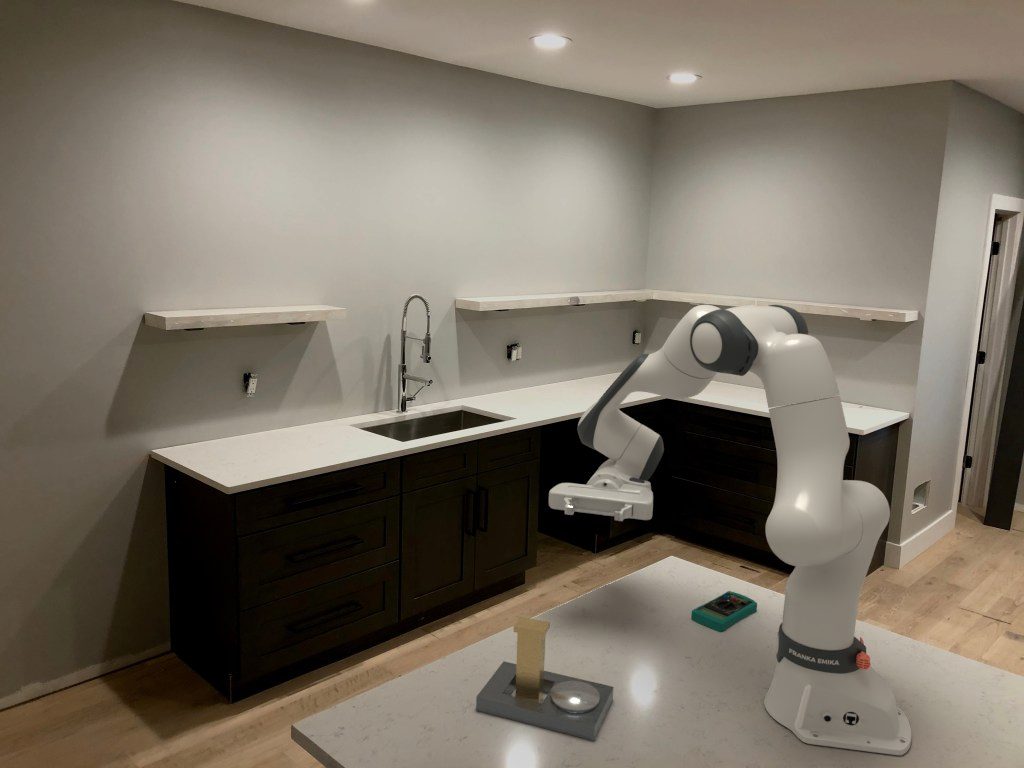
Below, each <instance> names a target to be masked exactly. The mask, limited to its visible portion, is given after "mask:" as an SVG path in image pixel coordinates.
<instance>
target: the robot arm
mask: <svg viewBox="0 0 1024 768" xmlns="http://www.w3.org/2000/svg"><path fill="white" fill-rule="evenodd" d="M808 328H809V327H808V324H807V322H806V319H805V317H804V316H803V315H802V314H801V313H800V312H799V311H798V310H796V309H795V308H792V307H789V306H786V305H783V304H770V305H769V304H768V305H750V304H747V305H740V306H733V307H730V308H726V309H723V308H720V307H717V306H715V305H711V304H698V305H697V306H694V307H692V308H691V309H690V310H689V311H688V312H687V313H686V314H684V316H683V317H682V318H681V320H680V321H678V323H677V324H676V326H675V327H674V328H673V329H672V331H671V332H670V334H669V336H668V337H667V338H666V340H665V342H664V344H663V345H662V347H661V348H660V349H659V350H656V351H655V352H652V353H642V354H639V355H638V356H637V357H636V358H635V359H633V360H632V361H631V363H629V364H628V366H627V367H626V368H625V369H624V370H623V371H622V372H621V373H620V374H619V375H618V377H616V378H615V380H614V381H613V382H612V383H611V385H610V386H609V387H608V388H607V389H606V390H605V392H604V393H603V394H602V395H601V396H600V398H599V399H597V401H596V402H595V403H593V404H591V406H589V407H588V408H587V409H586V410H585V411H584V413H583V414H582V415H581V417H580V418H579V421H578V424H577V428H576V430H577V433H578V436H579V437H578V438H579V439H580V442H581V444H583V445H585V446H586V447H588V448H591V449H593V450H595V451H597V452H599V453H600V454H602V455H604V456H605V457H607V458H608V459H607V460H606V461H604V462H603V463H602V464H601V465H600V466H599V467H598V469H597V470H595V472H594V474H593V475H592V476H591V477H590V479H589V480H588V481H587V483H586V484H583V483H582V484H581V483H575V482H561V483H558V484H556V485H555V486H553V487H552V488H551V489H550V490H549V492H548V506H549V507H550V509H553V510H559V511H564V515H568V516H569V515H570V516H573V515H574V513H575V512H577V513H584V514H594V515H600V516H601V515H602V516H609V517H614V521H617V522H623V521H624V520H625V519H635V520H642V521H650V520H651V519H652V518H653V511H654V509H653V508H654V492H653V491H652V486H651V482H650V481H649V479H650V478H651V477H652V476H653V474H654V472H655V471H656V469H657V467H658V465H659V463H660V462H661V459H662V457H663V454H664V452H665V447H664V441H663V438H662V436H661V435H660V434H659V433H657V432H655V431H654V430H653V429H651V428H650V427H648V426H646V425H644V424H642V423H640V422H639V421H637V420H635V418H632V417H630V416H629V415H628V414H626V413H624V412H623V411H621V410H620V409H619V406H620V405H621V404H622V403H623V402H624V401H625V399H626V398H627V397H628V396H629V395H630V394H632V393H636V392H639V393H640V392H641V393H643V392H644V393H648V394H649V393H650V394H655V395H657V396H662V397H664V398H667V399H668V398H669V399H675V400H676V399H677V400H682V399H689V398H692V397H696V396H698V395H699V394H701V393H702V392H703V391H704V390H705V389H706V388H707V387H708V386H709V384H710V383H711V382H712V381H713V379H714V378H715V376H716V374H717V373H720V374H726V375H727V374H728V375H733V376H740V377H743V376H745V375H746V374H747V373H748V372H750V373H753V374H755V376H757V377H758V378H759V380H760V381H761V382H762V385H763V389H764V391H765V397H766V402H767V408H768V413H769V418H770V422H771V428H772V433H773V437H774V438H773V439H774V443H775V448H776V459H777V477H776V490H775V497H774V502H773V506H772V509H771V511H770V514H769V515H768V517H767V520H766V522H765V537H766V541H767V543H768V545H769V548H770V550H771V551H772V553H773V554H774V555H775V556H776V557H778V559H779V560H781V561H782V562H784V563H785V564H788V565H790V566H794V569H793V571H792V572H791V573H790V575H789V576H788V578H787V582H786V584H785V591H784V602H783V613H782V622H781V623H780V624H779V628H778V631H777V637H776V644H775V645H776V646H775V655H776V656H775V657H776V663H775V664H776V665H775V668H774V672H773V675H772V679H771V683H770V685H769V688H768V691H767V693H766V694H765V696H764V699H763V704H764V707H765V709H766V711H767V713H768V714H769V715H770V716H771V718H773V719H774V720H775V721H776V722H778V723H779V724H781V725H782V726H783V727H786V728H787V729H789V730H790V731H792V733H793V734H794V735H795V736H796V737H797V738H798V739H799V740H800V741H801V742H803V743H804V744H805V743H806V744H808V745H816V746H823V747H832V748H838V749H845V750H846V749H848V750H855V751H862V752H870V753H876V754H877V753H879V754H885V755H892V756H903V755H905V754H906V753H907V752H908V751H909V750H910V748H911V746H912V745H911V744H912V729H911V723H910V722H909V721H910V720H909V719H908V717H907V715H906V714H905V713H904V711H903V710H902V709H901V708H900V707H899V706H898V701H897V698H896V697H897V696H896V695H895V692H894V690H893V688H892V686H891V683H890V682H889V681H888V679H886V678H885V677H883V676H882V675H881V674H880V673H879V672H878V671H877V670H875V669H874V668H873V667H872V666H871V658H870V655H868V654H867V646H866V645H865V643H864V640H863V638H862V636H860V637H859V639H858V638H857V637H856V636H855V633H856V632H855V631H856V626H857V625H856V624H857V615H858V608H859V601H860V596H861V593H862V589H863V587H864V586H863V585H864V583H865V579H866V577H867V575H868V571H869V569H870V568H869V567H870V565H871V563H872V560H873V557H874V553H875V550H876V547H877V544H878V543H879V542H878V541H879V539H880V537H881V536H882V534H883V532H884V530H885V529H886V527H887V526H888V524H889V521H890V517H891V516H890V515H891V509H890V505H889V501H888V499H887V498H886V496H885V494H884V493H883V491H881V490H880V489H879V488H878V487H877V486H876V485H874V484H872V483H869V482H867V481H865V480H864V481H863V480H855V479H854V480H853V479H852V480H850V479H849V480H848V479H845V480H844V468H845V467H844V466H845V460H846V456H847V454H848V452H849V449H850V441H851V440H850V436H849V433H848V428H847V422H846V417H845V413H844V408H843V404H842V400H841V396H840V391H839V388H838V382H837V379H836V376H835V373H834V370H833V367H832V364H831V362H830V359H829V356H828V354H827V352H826V351H825V348H824V346H823V344H822V343H821V342H820V340H819V339H818V338H817V337H815V336H812V335H810V334H809V329H808Z"/></svg>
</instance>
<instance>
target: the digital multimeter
mask: <svg viewBox="0 0 1024 768" xmlns="http://www.w3.org/2000/svg"><path fill="white" fill-rule="evenodd" d="M757 608H758V603H757V601H755V600H754V599H752V598H750V597H748V596H746V595H743V594H741V593H738V592H735V591H730V590H728V591H726V592H724V593H722V594H721V595H719V596H717V597H715V598H713V599H711V600H710V601H708V602H706V603H704V604H702V605H700V606H698V607H696V608H694V609H692V610H691V618H690V619H691V620H692V621H694V622H696V623H698V624H700V625H702V626H704V627H707V628H709V629H711V630H714V631H718V632H719V633H720V632H724V631H725V630H727V629H728V628H730V627H731V626H733V625H734V624H736V623H737V622H739V621H742V619H746V617H749V616H750V615H752V614H755V613H756V612H757V610H758V609H757Z"/></svg>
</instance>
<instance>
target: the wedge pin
mask: <svg viewBox="0 0 1024 768" xmlns="http://www.w3.org/2000/svg"><path fill="white" fill-rule="evenodd" d="M550 626H551V621H548V620H543V619H538V618H537V619H535V618H530V617H524V616H519V617H518V619H517V620H516V622H515V623H514V625H513V633H517V636H516V637H517V640H516V641H517V642H516V663H515V664H516V687H515V696H514V697H517V698H521V699H525V700H529V701H533V702H538V703H543V701H544V692H543V685H544V671H545V660H546V658H545V655H546V635H547V633H548V632H549V629H550V628H551V627H550Z"/></svg>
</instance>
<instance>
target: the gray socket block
mask: <svg viewBox="0 0 1024 768" xmlns="http://www.w3.org/2000/svg"><path fill="white" fill-rule="evenodd" d="M516 664H517V663H514V662H507V661H504V660H503V662H502V663H501V664H500V665H499V666H498V667H497V669H496V670H495V672H494V673H493V674H492V676H491V677H490V678H489V680H488V681H487V682H486V683H485V685H484V686H483V687H482V689H480V691H479V692H478V693H477V695H476V697H475V699H476V700H475V701H476V703H475V704H476V705H475V706H476V707H475V711H476V712H480V713H484V714H488V715H491V716H495V717H499V718H504V719H507V720H511V721H515V722H519V723H523V724H526V725H530V726H534V727H538V728H543V729H546V730H550V731H553V732H554V731H555V732H556V733H557V732H558V733H561V734H566V735H569V736H573V737H577V738H581V739H585V740H588V741H593V742H595V740H596V738H597V735H598V733H599V731H600V729H601V726H602V724H603V722H604V721H605V718H606V716H607V715H608V712H609V710H610V707H611V705H612V703H613V701H614V691H615V690H614V687H615V686H611V685H607V684H603V683H599V682H595V681H589V680H586V679H581V678H577V677H574V676H567V675H564V674H560V673H556V672H552V671H547V670H544V685H543V694H544V693H546V694H547V695H546V696H545V698H544V699H543V700H542V702H541V703H538V702H533V701H529V700H525V699H521V698H517V697H515V696H513V695H512V693H513V692H514V690H516ZM512 691H513V692H512Z"/></svg>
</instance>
